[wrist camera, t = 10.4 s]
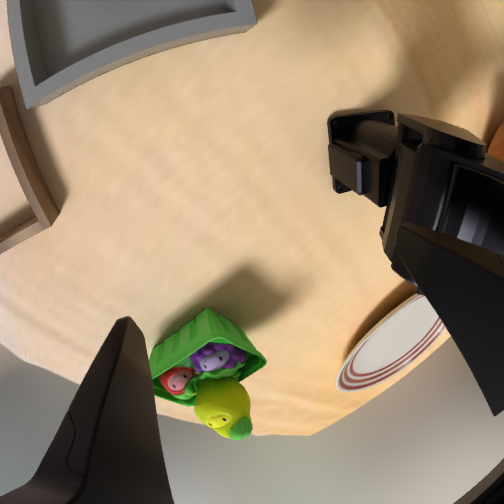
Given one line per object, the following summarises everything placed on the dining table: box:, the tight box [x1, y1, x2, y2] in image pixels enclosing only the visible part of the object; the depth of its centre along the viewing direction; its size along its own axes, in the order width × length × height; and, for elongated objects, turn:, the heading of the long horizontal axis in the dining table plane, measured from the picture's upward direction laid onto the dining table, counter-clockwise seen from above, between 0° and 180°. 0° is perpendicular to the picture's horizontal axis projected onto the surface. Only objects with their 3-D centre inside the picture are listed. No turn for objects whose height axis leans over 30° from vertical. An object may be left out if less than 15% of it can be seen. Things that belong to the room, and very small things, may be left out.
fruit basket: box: [149, 308, 267, 440], centre depth 24 cm, size 11×9×11 cm
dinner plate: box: [336, 293, 446, 392], centre depth 40 cm, size 27×27×3 cm
